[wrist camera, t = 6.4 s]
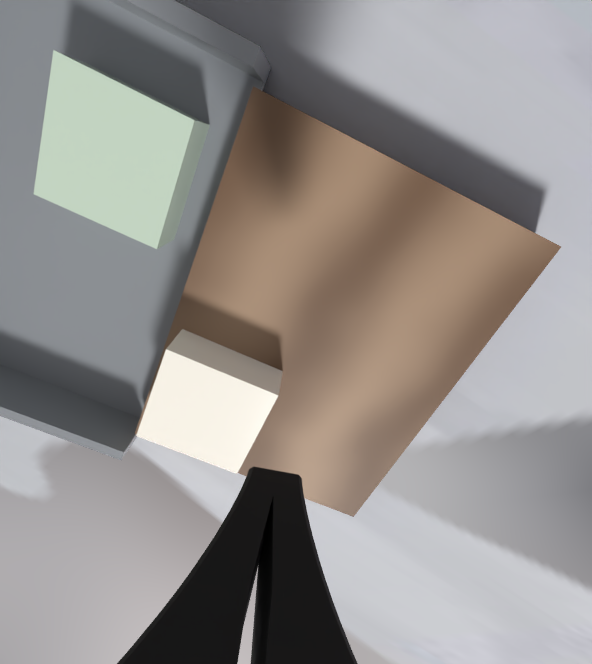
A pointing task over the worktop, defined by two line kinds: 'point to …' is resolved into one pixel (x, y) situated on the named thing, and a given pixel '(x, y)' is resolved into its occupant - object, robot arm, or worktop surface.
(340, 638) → the robot arm
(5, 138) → the box
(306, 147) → the walnut plate
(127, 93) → the sage tile
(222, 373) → the cream tile
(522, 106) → the worktop surface
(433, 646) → the worktop surface
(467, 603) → the worktop surface
